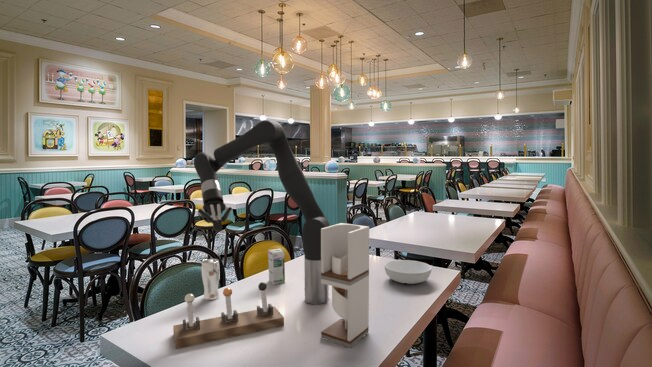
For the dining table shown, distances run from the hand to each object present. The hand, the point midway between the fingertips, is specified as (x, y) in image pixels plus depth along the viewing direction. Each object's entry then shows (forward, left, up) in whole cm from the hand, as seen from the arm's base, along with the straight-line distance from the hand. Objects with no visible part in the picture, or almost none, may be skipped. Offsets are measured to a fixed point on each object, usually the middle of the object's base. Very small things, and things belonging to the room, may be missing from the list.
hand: (218, 230), depth 140 cm
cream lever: (+1, +22, -27) cm, 35 cm away
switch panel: (-9, +16, -30) cm, 35 cm away
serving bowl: (-74, -36, -30) cm, 88 cm away
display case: (-47, +17, -30) cm, 58 cm away
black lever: (-20, +10, -27) cm, 34 cm away
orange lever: (-9, +16, -27) cm, 32 cm away
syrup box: (-15, -31, -30) cm, 46 cm away
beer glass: (+8, -11, -30) cm, 33 cm away
